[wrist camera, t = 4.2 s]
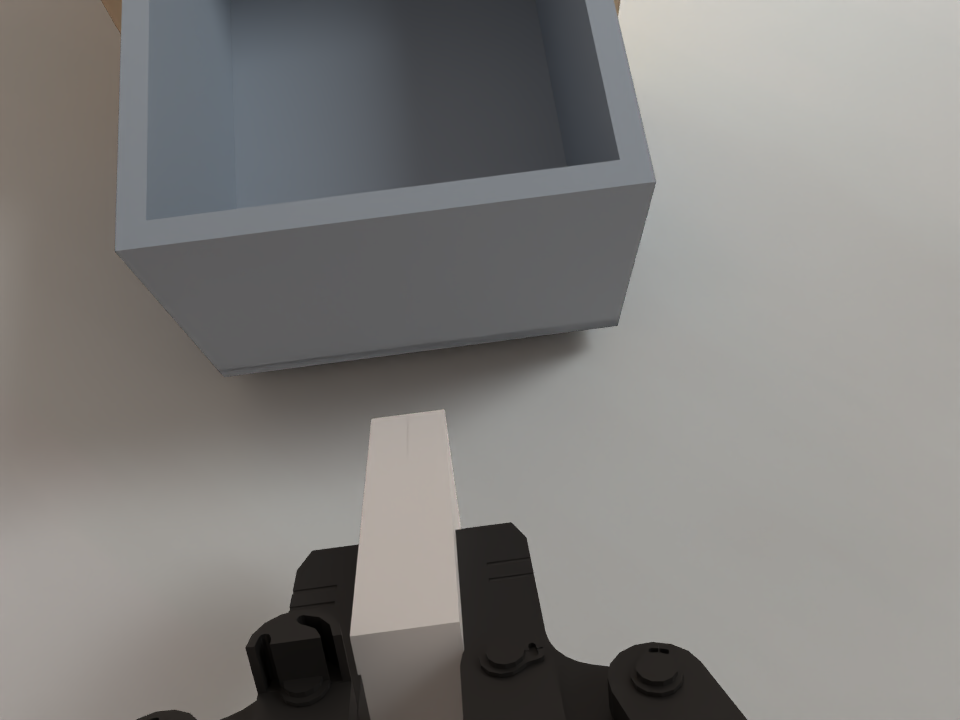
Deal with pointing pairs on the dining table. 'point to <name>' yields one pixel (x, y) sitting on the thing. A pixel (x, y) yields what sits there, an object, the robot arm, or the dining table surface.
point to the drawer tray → (377, 173)
